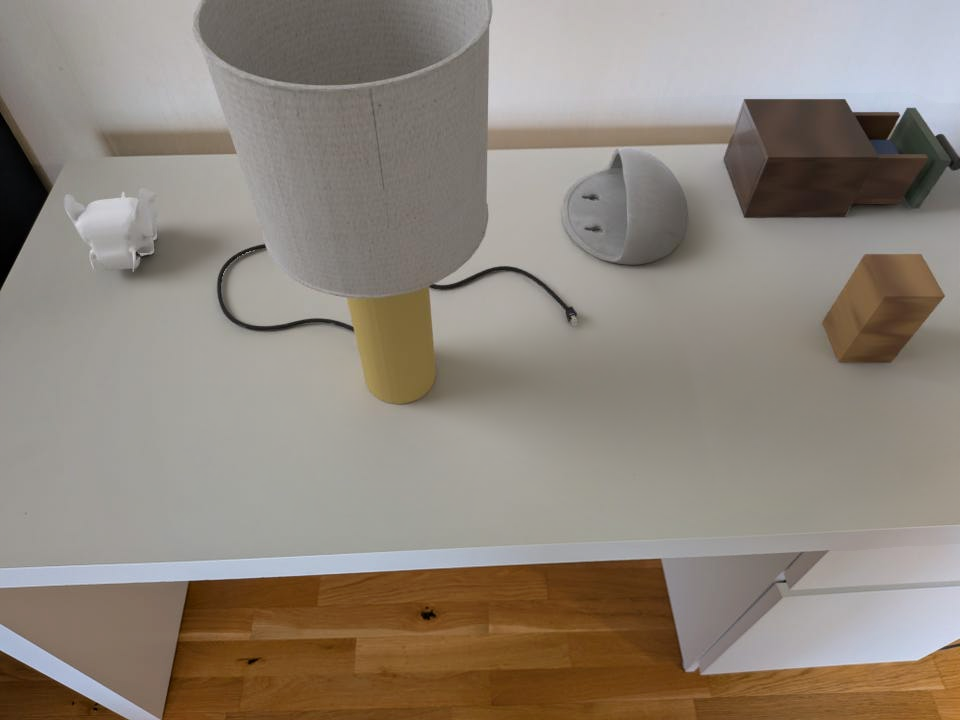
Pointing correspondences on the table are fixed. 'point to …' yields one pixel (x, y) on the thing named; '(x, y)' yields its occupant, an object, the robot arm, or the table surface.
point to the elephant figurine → (116, 228)
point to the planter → (627, 209)
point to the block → (884, 147)
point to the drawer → (904, 159)
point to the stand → (881, 307)
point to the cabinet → (798, 157)
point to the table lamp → (361, 157)
